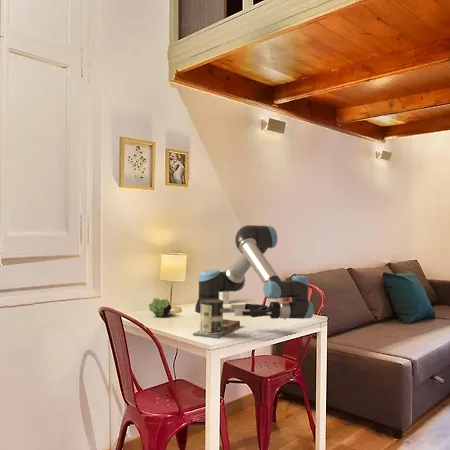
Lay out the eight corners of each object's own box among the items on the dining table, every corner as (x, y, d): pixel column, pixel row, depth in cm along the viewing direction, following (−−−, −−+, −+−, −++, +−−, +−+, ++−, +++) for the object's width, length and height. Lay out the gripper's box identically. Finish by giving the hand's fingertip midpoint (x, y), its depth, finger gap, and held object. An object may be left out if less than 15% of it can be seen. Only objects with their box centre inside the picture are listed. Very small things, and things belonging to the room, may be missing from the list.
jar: (219, 304, 280) (220, 285, 280) (212, 302, 286) (213, 283, 286) (231, 303, 285) (232, 284, 285) (224, 301, 291) (225, 282, 291)
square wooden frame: (199, 328, 212) (200, 323, 212) (213, 323, 225) (213, 318, 225) (227, 332, 206) (228, 326, 206) (239, 326, 219) (239, 321, 219)
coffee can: (223, 329, 207) (223, 299, 207) (222, 335, 197) (222, 302, 197) (200, 329, 207) (201, 298, 208) (198, 334, 197) (199, 302, 197)
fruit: (172, 320, 244) (161, 318, 231) (155, 315, 248) (143, 313, 234) (177, 301, 246) (167, 298, 233) (160, 297, 250) (149, 294, 236)
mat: (193, 335, 199) (193, 333, 199) (205, 329, 210) (205, 328, 210) (217, 338, 194) (217, 336, 194) (228, 332, 205) (228, 331, 205)
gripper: (285, 324, 193) (236, 324, 191) (273, 313, 218) (229, 313, 215) (285, 306, 193) (236, 306, 191) (273, 297, 218) (229, 297, 215)
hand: (232, 310), depth 203 cm, fingers open, 13 cm apart
